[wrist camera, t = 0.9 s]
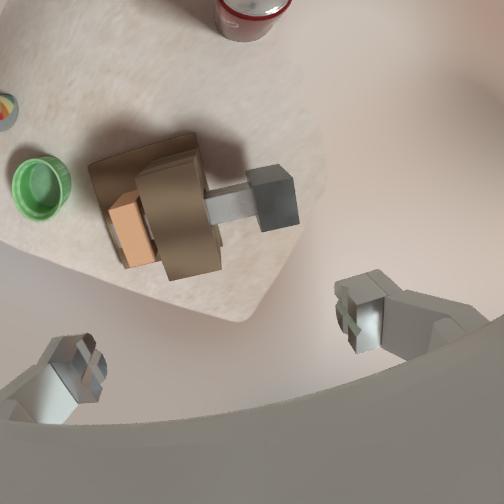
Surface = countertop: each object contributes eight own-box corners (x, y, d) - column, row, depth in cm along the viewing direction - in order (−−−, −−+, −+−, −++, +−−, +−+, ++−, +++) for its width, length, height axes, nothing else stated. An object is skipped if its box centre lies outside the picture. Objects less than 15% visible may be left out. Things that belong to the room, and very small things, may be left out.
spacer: (122, 193, 35) (108, 210, 30) (145, 187, 35) (133, 202, 30) (140, 244, 38) (130, 267, 33) (161, 238, 38) (154, 261, 33)
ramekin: (47, 222, 39) (34, 234, 36) (17, 176, 35) (1, 185, 31) (86, 189, 38) (74, 199, 34) (53, 139, 34) (38, 144, 30)
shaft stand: (90, 164, 37) (54, 186, 27) (194, 132, 37) (188, 142, 27) (126, 265, 44) (107, 309, 34) (222, 242, 44) (225, 284, 35)
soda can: (214, 43, 32) (214, 19, 21) (214, -5, 29) (215, -43, 18) (272, 44, 33) (295, 21, 22) (271, -4, 29) (293, -39, 19)
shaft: (118, 203, 35) (100, 224, 29) (278, 163, 36) (292, 177, 29) (130, 239, 38) (117, 266, 31) (285, 202, 38) (299, 223, 32)
